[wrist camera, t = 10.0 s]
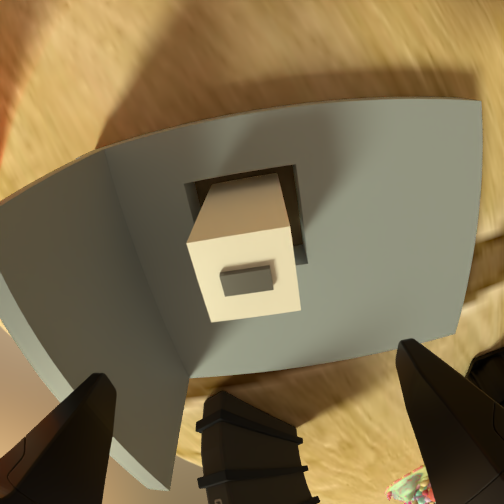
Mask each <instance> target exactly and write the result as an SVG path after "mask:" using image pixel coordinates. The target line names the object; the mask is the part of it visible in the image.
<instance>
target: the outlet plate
mask: <svg viewBox="0 0 504 504" xmlns="http://www.w3.org/2000/svg"><path fill="white" fill-rule="evenodd" d="M482 148H483V136H482V106H481V101H477V100H471V99H465V98H456V97H373V98H355V99H341V100H329V101H319V102H309V103H301V104H293V105H285V106H278V107H271V108H264V109H258V110H252V111H246V112H240V113H235V114H230V115H224V116H219V117H214V118H210V119H205V120H200V121H196V122H191V123H187V124H183V125H179V126H175V127H171V128H167V129H163V130H159V131H155V132H151V133H148V134H144V135H141V136H137V137H134V138H130V139H127V140H123V141H120V142H117V143H114V144H110V145H107V146H104V147H101V148H98V149H95V150H93V151H91V152H88V153H86V154H84V155H82V156H80V157H78V158H76V160H74V161H72V162H70V163H68V164H66V165H64V166H62V167H60V168H58V169H56V170H54V171H52V172H50V173H48V174H46V175H45V176H43V177H41V178H39V179H37V180H35V181H34V182H32V183H30V184H28V185H27V186H25V187H23V188H21V189H20V190H18V191H16V192H15V193H13V194H11V195H10V196H8V197H6V198H5V199H3V200H2V201H0V319H1V320H2V322H3V324H4V325H5V327H6V329H7V330H8V332H9V333H10V335H11V337H12V338H13V340H14V341H15V343H16V344H17V346H18V347H19V349H20V350H21V351H22V353H23V354H24V356H25V357H26V359H27V360H28V362H29V363H30V364H31V366H32V367H33V369H34V370H35V371H36V373H37V374H38V375H39V377H40V378H41V379H42V381H43V382H44V383H45V384H46V386H47V387H48V388H49V389H50V391H51V392H52V393H53V394H54V396H55V397H56V398H57V399H58V401H59V402H60V403H61V402H62V401H63V400H64V399H65V398H66V397H67V396H68V395H70V394H71V393H72V392H73V391H74V390H75V389H76V388H77V387H78V386H79V385H80V384H81V383H82V382H84V381H85V380H86V379H87V378H88V377H89V376H90V375H91V374H92V373H95V372H100V373H105V374H106V375H107V376H108V378H109V379H110V381H111V382H112V384H113V385H114V387H115V388H116V391H117V399H116V409H115V419H114V430H113V437H112V443H111V448H110V454H109V455H110V456H111V457H112V458H114V460H116V461H117V462H118V463H119V464H120V465H121V466H122V467H123V468H124V469H125V470H127V471H128V472H129V473H130V474H131V475H132V476H133V477H135V478H136V479H137V480H138V481H139V482H141V483H142V484H143V485H144V486H145V487H147V488H148V489H155V490H164V491H170V486H171V479H172V473H173V467H174V461H175V455H176V449H177V444H178V438H179V432H180V426H181V421H182V415H183V410H184V404H185V399H186V393H187V388H188V383H189V378H198V377H214V376H227V375H238V374H248V373H258V372H267V371H275V370H283V369H291V368H298V367H305V366H311V365H318V364H324V363H330V362H335V361H341V360H347V359H352V358H357V357H362V356H367V355H372V354H377V353H381V352H386V351H390V350H395V349H398V343H399V341H401V340H404V339H408V338H413V339H415V340H416V341H418V342H419V343H423V342H427V341H431V340H435V339H438V338H442V337H446V336H449V335H453V334H455V332H456V329H457V325H458V321H459V318H460V314H461V310H462V306H463V302H464V297H465V293H466V289H467V284H468V279H469V274H470V269H471V264H472V258H473V252H474V246H475V239H476V232H477V224H478V215H479V205H480V194H481V179H482ZM287 165H292V166H293V172H294V180H295V187H296V194H297V202H298V209H299V217H300V225H301V233H302V242H303V245H297V246H293V251H294V258H295V266H296V273H297V281H298V289H299V297H300V305H301V310H300V311H294V312H287V313H280V314H273V315H266V316H259V317H251V318H243V319H235V320H227V321H219V322H211V320H210V317H209V314H208V311H207V308H206V305H205V302H204V298H203V295H202V292H201V289H200V286H199V283H198V280H197V277H196V273H195V270H194V267H193V264H192V260H191V257H190V254H189V251H188V247H187V244H186V243H187V240H188V238H189V236H190V233H191V231H192V229H193V226H194V224H195V221H196V219H197V217H198V215H199V212H200V210H201V207H200V203H199V199H198V195H197V191H196V187H195V183H194V182H195V181H200V180H205V179H210V178H215V177H220V176H226V175H231V174H237V173H243V172H249V171H255V170H261V169H267V168H274V167H280V166H287Z"/></svg>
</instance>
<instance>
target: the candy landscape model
mask: <svg viewBox="0 0 504 504" xmlns="http://www.w3.org/2000/svg"><path fill="white" fill-rule="evenodd" d="M385 495H386V496H387V498H388V500H389V501H390V499H391V497H390V496H392V497H393V498H394V499H395V500H399V501H402V502H403V501H404V502H405V503H404V504H436V502H435V498H434V495H433V491H432V488H431V484H430V481H429V478H428V474H427V471H426V468H425V465H423V466H420V467H419V468H417V469H415V470H413V471H412V472H410V473H408V474H406V475H404V476H403V477H402V478H400V479H398V480H396V481H394V483H393V484H391V485H390V486H388V487H387V489H386V491H385Z"/></svg>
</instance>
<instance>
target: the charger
mask: <svg viewBox="0 0 504 504" xmlns="http://www.w3.org/2000/svg"><path fill="white" fill-rule="evenodd" d="M186 244H187V247H188V251H189V254H190V257H191V260H192V264H193V267H194V270H195V273H196V277H197V280H198V283H199V286H200V289H201V292H202V295H203V298H204V302H205V305H206V308H207V311H208V314H209V317H210V320H211V322H219V321H227V320H235V319H243V318H251V317H259V316H266V315H273V314H280V313H287V312H294V311H300V310H301V305H300V297H299V289H298V281H297V273H296V266H295V258H294V251H293V243H292V236H291V229H290V224H289V220H288V215H287V211H286V207H285V203H284V199H283V195H282V191H281V187H280V183H279V179H278V175H277V173H273V174H267V175H261V176H255V177H249V178H243V179H237V180H232V181H226V182H221V183H216V184H212V185H211V187H210V190H209V192H208V194H207V196H206V199H205V201H204V203H203V205H202V208H201V210H200V212H199V215H198V217H197V219H196V221H195V224H194V226H193V229H192V231H191V233H190V236H189V238H188V240H187V243H186Z"/></svg>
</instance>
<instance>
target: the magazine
mask: <svg viewBox="0 0 504 504" xmlns="http://www.w3.org/2000/svg"><path fill="white" fill-rule="evenodd" d="M196 432H199V433H202V439H201V457H202V466H203V473H204V476H203V477H200V478H198V479H197V480H198V485H199V488H200V489H201V488H206V493H207V498H208V504H317V503H319V502H320V500H319V498H318V496H316V497H312V496H311V493H310V491H309V489H308V486H307V484H306V480H305V476H304V473H303V472H305V471H308V466H302V465H301V460H300V456H299V449H298V445H300V444H302V443H303V439H302V438H300V437H297V431H296V428H295V427H293V426H291V425H289V424H287V423H285V422H283V421H281V420H279V419H276V418H274V417H272V416H270V415H268V414H266V413H264V412H262V411H260V410H258V409H256V408H254V407H253V406H251V405H249V404H247V403H245V402H243V401H241V400H239V399H237V398H236V397H234V396H232V395H230V394H228V393H226V392H224V391H221V392H219V393H218V394H216V395H215V396H213V397H211V398H210V399H208V400H206V401H205V403H204V409H203V419H201V420H199V421H198V422H196Z"/></svg>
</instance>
